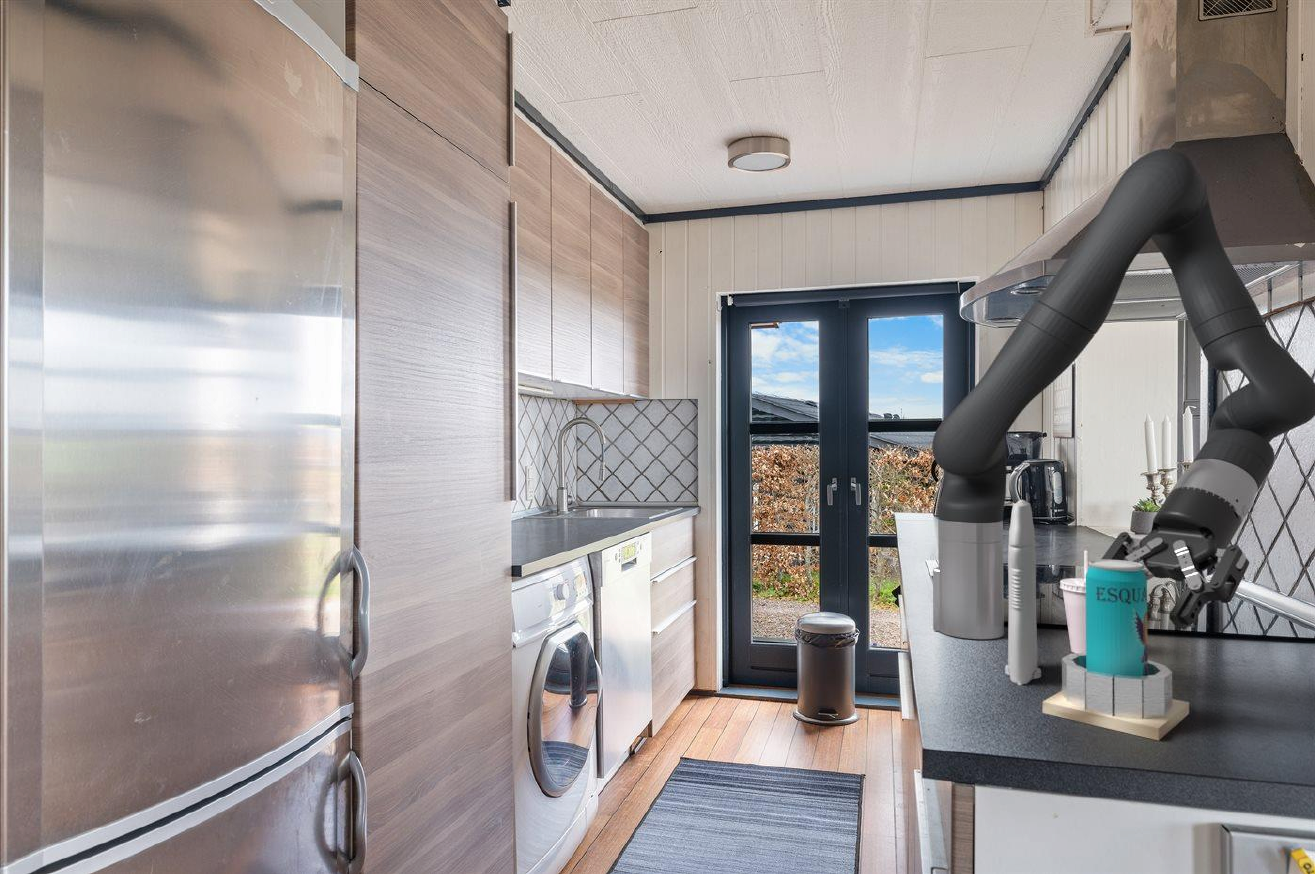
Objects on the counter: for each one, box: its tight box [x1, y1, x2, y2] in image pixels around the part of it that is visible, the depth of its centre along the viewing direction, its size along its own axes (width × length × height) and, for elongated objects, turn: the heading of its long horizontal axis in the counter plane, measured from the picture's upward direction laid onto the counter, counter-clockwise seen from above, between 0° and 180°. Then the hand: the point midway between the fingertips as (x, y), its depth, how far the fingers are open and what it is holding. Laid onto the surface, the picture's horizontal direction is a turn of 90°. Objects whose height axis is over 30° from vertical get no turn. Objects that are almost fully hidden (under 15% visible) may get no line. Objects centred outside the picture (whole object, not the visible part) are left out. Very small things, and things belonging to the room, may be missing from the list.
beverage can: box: [1086, 559, 1149, 677], centre depth 86 cm, size 6×6×15 cm
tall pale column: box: [1004, 499, 1042, 686], centre depth 100 cm, size 11×4×22 cm, turn 149°
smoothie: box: [1059, 549, 1090, 654], centre depth 110 cm, size 6×6×14 cm
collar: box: [1061, 652, 1173, 719], centre depth 86 cm, size 10×10×4 cm
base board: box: [1042, 690, 1190, 741], centre depth 86 cm, size 11×11×1 cm
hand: (1138, 615), depth 87 cm, fingers open, 8 cm apart
